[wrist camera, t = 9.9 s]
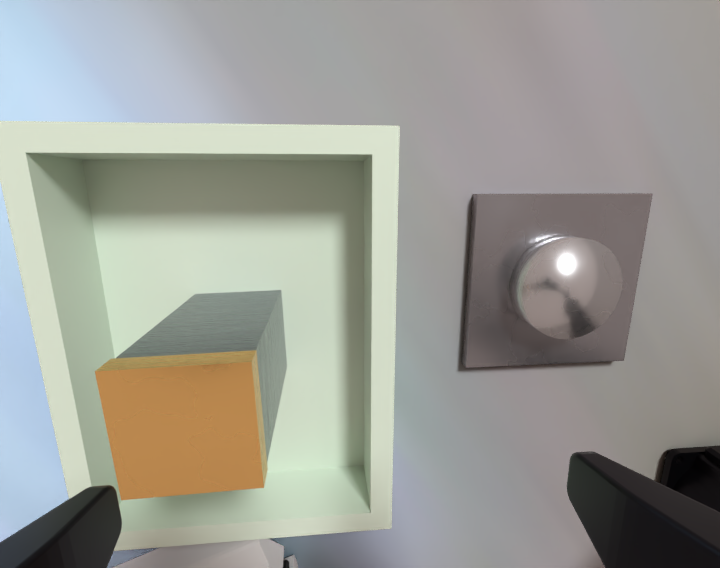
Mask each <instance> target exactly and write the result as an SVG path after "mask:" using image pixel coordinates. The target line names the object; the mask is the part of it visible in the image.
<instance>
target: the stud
mask: <svg viewBox="0 0 720 568" xmlns="http://www.w3.org/2000/svg"><path fill="white" fill-rule="evenodd" d="M651 200H652V194H473V202H472V218H471V233H470V249H469V264H468V279H467V295H466V310H465V326H464V341H463V356H462V363H463V364H464V366H465V367H466V368H468V367H490V366H513V365H535V364H558V363H580V362H603V361H624V357H625V351H626V345H627V339H628V334H629V328H630V322H631V316H632V310H633V305H634V299H635V293H636V287H637V281H638V276H639V270H640V264H641V258H642V252H643V247H644V241H645V235H646V229H647V223H648V218H649V212H650V206H651Z"/></svg>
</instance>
